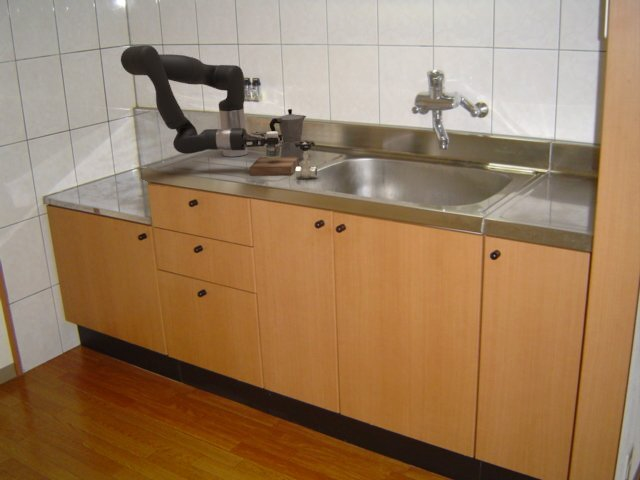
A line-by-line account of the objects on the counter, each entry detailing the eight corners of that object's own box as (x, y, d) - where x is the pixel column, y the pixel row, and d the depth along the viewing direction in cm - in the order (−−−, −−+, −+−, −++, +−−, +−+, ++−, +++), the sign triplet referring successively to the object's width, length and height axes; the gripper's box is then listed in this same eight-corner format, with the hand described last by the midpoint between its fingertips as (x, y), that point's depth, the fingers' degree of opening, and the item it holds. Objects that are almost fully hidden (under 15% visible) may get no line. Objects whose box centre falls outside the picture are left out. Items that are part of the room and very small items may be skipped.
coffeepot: (300, 153, 276) (297, 105, 270) (315, 157, 268) (312, 108, 262) (265, 160, 268) (262, 111, 262) (279, 164, 260) (275, 114, 254)
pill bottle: (263, 157, 251) (262, 132, 248) (273, 154, 254) (271, 130, 251) (273, 159, 248) (272, 134, 245) (283, 156, 251) (281, 131, 248)
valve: (314, 181, 237) (312, 144, 233) (294, 181, 238) (292, 144, 234) (318, 176, 243) (316, 140, 239) (299, 176, 244) (296, 140, 240)
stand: (260, 165, 260) (259, 157, 259) (298, 165, 258) (298, 156, 257) (250, 175, 247) (249, 167, 246) (291, 175, 245) (290, 166, 244)
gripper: (225, 132, 243) (275, 132, 240) (236, 124, 256) (284, 124, 254) (226, 154, 246) (276, 154, 243) (237, 145, 259) (285, 145, 256)
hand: (280, 139), depth 248 cm, fingers closed on pill bottle, 4 cm apart
